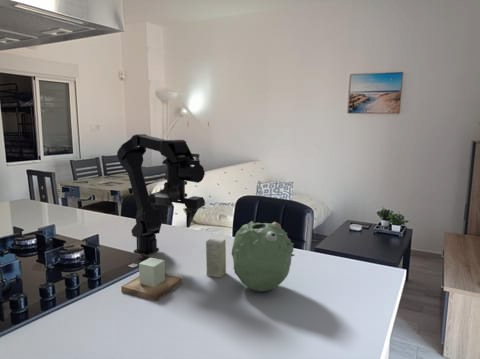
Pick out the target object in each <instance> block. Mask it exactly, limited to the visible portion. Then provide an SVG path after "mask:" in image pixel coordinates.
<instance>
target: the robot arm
mask: <svg viewBox="0 0 480 359" xmlns="http://www.w3.org/2000/svg"><path fill="white" fill-rule="evenodd" d="M147 149H148V150H153V151H156V152H159V153H160V154H161V156H163V157H165V159H164V160H162V165H166V182H165V181H164V183H163V188H162V189H160V190H159V191H155V192H153V193H150V194H149V192H148V188H147V184H146V181H145V178H144V173H143V171H142V170H143V169H142V166H143V164H144V163H143V162H144V155H145V153H147ZM116 152H117V153H116V156H117V158H118V161H119V164H120V166H121V167H122V168H123V169H124V170H125V171H126V172H127V175H128V178H129V182H130V186H131V189H132V192H133V197H134V200H135V205H136V208H137V210H136V216H135V225H134V226H133V227H132V228H131V236H132V237H134V238H136V249H134V250H133V253H137V254H141V255H147V256H148V255H150V254H151V255H152V254H153V253H155V252H156V251H158V250H159V249H160V247H158V244H157V241H158V240H157V236H156V234H160V231H161V227H162V223H163V225H164V224H167V221H168V213H169V206H171V204H172V203H173V204H174V203H175V204H181V205H184V206H185V207H186V208H184V211H185V212H186V213H185V214H186V218H185V219H186V222H185V223H186V228H187V229H188V228H190V227H191V224H192V222H193V220H194V218H195V215H196V214H197V212H198V210H199V209H202V208H203V207H205V206H206V201H205V198H204V197H203V196H196V195H195V196H194V195H193V196H191V197H188V193H186V185H187V184H188V182H191V183H196V184H199V183H200V182H202V181H203V180H204V178H205V172H206V171H205V169H204V166H203V165H201V161H200V160H199V159H195V158H194V155H193V154H192V152H191V150H190V148H189V146H188V144H187V141H186V140H184V139H164V138H159V137H155V136H150V135H147V134H134V135H132V136H131V137H130V139H128V140H127V141H125V142H123V143H122V144H121V145H120V147H119V149H117V151H116Z"/></svg>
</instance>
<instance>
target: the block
mask: <svg viewBox="0 0 480 359" xmlns="http://www.w3.org/2000/svg"><path fill="white" fill-rule="evenodd" d="M165 263H166V262H165V260H164V259H161V258H160V259H159V258H154V257H149V258H147V259H145V260H143V261H141V262H140V263H139V262H138V268H139V269H138V270H139V271H138V274H139V275H138V276H139V277H140V284H143V285H147V286H151V287H155V286H157V285H158V284H160V283H161V282H163V281H164V280H165V273H166V272H165V271H166V270H165V269H166V267H165V266H166V264H165Z"/></svg>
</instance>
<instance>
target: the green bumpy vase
mask: <svg viewBox="0 0 480 359" xmlns="http://www.w3.org/2000/svg"><path fill="white" fill-rule="evenodd" d="M287 234H288V232H286V231H285V230H284V229H282V226H281V224H280V223H279V222H276V221H273V222H272V223H267V222H264V223H261V222H256V223H255V222H254V221H253V220H251V221H249V222H248V223H246V224H243V225H242V226H241V227H239V230H237V231H236V233H235V235H234V238H233V243H232V249H231V256H232V260H233V261H232V262H233V270H234V274H235V275H236V276H237V277H238V278H239V281H240V282H241V284H243V285H244V286H246V287H248V289H249V290H252V291H255V292H261V293H262V292H263V293H264V292H269V291H272V290H274V289H275V288H277V287H278V286H279V285H281V284H282V283H283V282H284V281H285V279H286V278H287V277H288V275H289V273H290V270H291V269H290V268H291V265H292V257H295V256H296V255H295V254H293V252H294V244H295V243H293V242H291V241H292V240H291V238H289V237H288V235H287Z"/></svg>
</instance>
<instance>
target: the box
mask: <svg viewBox="0 0 480 359" xmlns="http://www.w3.org/2000/svg"><path fill="white" fill-rule="evenodd" d="M226 241H227V240H226V239H225V238H216V237H211V238H209V239H208V240H206V241H205V255H206V276H207V277H214V278H215V277H216V278H222V277H224V275H225V274H226V272H227V261H226V260H227V257H226V256H227V255H226V253H227V252H226V251H227V247H226Z"/></svg>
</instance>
